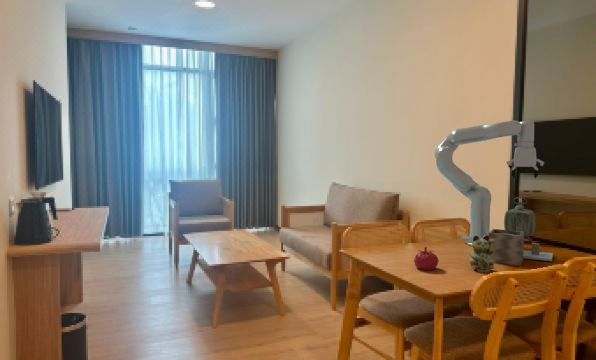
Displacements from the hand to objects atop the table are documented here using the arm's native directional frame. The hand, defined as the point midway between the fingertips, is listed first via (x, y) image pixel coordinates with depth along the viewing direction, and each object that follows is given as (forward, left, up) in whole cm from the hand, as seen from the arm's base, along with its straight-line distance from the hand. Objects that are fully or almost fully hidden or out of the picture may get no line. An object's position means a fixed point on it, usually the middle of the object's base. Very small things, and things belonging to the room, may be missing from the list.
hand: (524, 177), depth 216 cm
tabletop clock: (-3, +14, -36) cm, 39 cm away
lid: (+7, -24, -36) cm, 44 cm away
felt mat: (+7, -25, -36) cm, 44 cm away
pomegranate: (-31, -71, -37) cm, 86 cm away
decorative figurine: (-11, -61, -36) cm, 72 cm away
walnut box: (-4, -38, -36) cm, 53 cm away
